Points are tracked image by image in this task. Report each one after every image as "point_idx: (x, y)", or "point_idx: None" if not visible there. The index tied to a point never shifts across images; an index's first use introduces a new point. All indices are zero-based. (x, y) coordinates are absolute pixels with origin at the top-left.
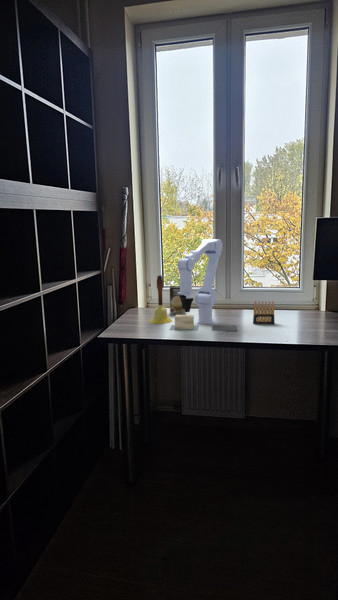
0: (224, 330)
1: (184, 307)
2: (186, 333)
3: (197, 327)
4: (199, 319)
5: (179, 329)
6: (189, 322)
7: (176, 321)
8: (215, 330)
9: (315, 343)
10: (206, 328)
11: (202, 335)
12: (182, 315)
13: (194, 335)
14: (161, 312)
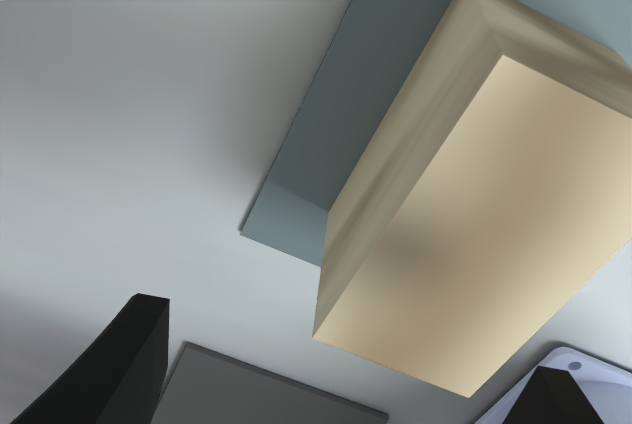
0: (154, 419)
1: (56, 381)
2: (154, 60)
3: None
4: (599, 408)
5: (392, 35)
6: (344, 236)
7: (467, 51)
8: (176, 368)
9: None
10: None
11: (23, 202)
12: (550, 252)
13: (32, 121)
14: None
